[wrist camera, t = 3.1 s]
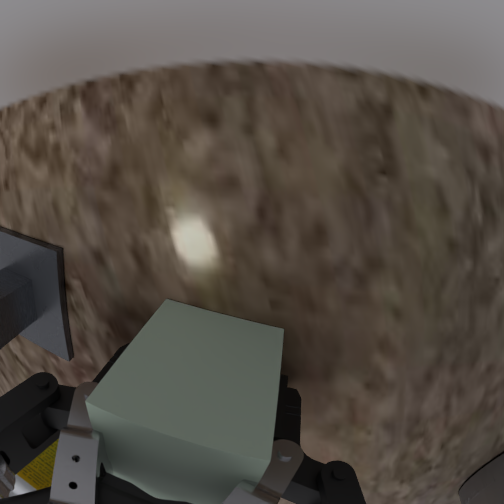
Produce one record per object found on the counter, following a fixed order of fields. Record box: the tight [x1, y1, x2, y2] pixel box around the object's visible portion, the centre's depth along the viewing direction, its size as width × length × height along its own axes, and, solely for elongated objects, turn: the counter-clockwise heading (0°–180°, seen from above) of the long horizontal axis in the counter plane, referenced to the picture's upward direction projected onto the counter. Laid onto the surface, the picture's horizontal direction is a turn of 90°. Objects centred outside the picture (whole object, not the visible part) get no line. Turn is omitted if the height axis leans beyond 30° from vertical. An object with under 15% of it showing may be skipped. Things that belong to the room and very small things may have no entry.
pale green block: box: [85, 299, 284, 504], centre depth 11 cm, size 5×5×7 cm
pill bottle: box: [9, 439, 59, 497], centre depth 13 cm, size 6×6×11 cm
